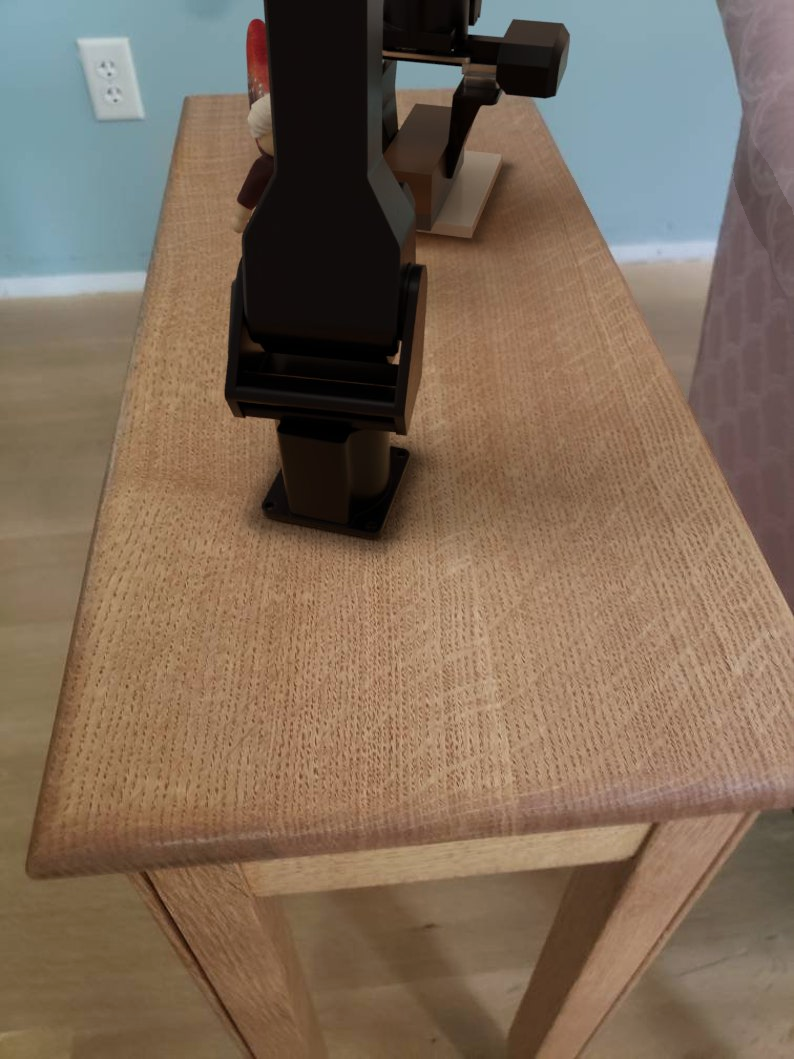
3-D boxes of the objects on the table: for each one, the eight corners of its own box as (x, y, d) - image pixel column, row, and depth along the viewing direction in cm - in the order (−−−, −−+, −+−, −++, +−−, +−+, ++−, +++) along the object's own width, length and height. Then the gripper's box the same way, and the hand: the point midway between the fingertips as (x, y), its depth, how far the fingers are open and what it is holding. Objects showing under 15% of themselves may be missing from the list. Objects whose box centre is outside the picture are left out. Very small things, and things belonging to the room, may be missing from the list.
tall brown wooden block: (430, 231, 61) (431, 174, 58) (376, 224, 62) (375, 167, 58) (464, 162, 68) (466, 108, 65) (415, 157, 69) (415, 102, 66)
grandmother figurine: (278, 320, 56) (252, 124, 47) (236, 300, 58) (203, 107, 49) (352, 269, 61) (341, 79, 51) (311, 252, 62) (293, 65, 53)
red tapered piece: (286, 134, 75) (272, 7, 68) (306, 237, 64) (292, 96, 56) (253, 137, 75) (236, 9, 67) (267, 241, 63) (248, 100, 56)
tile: (471, 239, 63) (472, 226, 62) (354, 223, 65) (354, 211, 64) (501, 166, 71) (502, 154, 70) (397, 154, 72) (397, 142, 72)
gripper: (596, -102, 55) (563, 140, 67) (323, -117, 59) (337, 115, 71) (572, -53, 48) (541, 208, 60) (264, -73, 52) (291, 177, 63)
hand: (423, 173), depth 64 cm, fingers closed on tall brown wooden block, 4 cm apart
